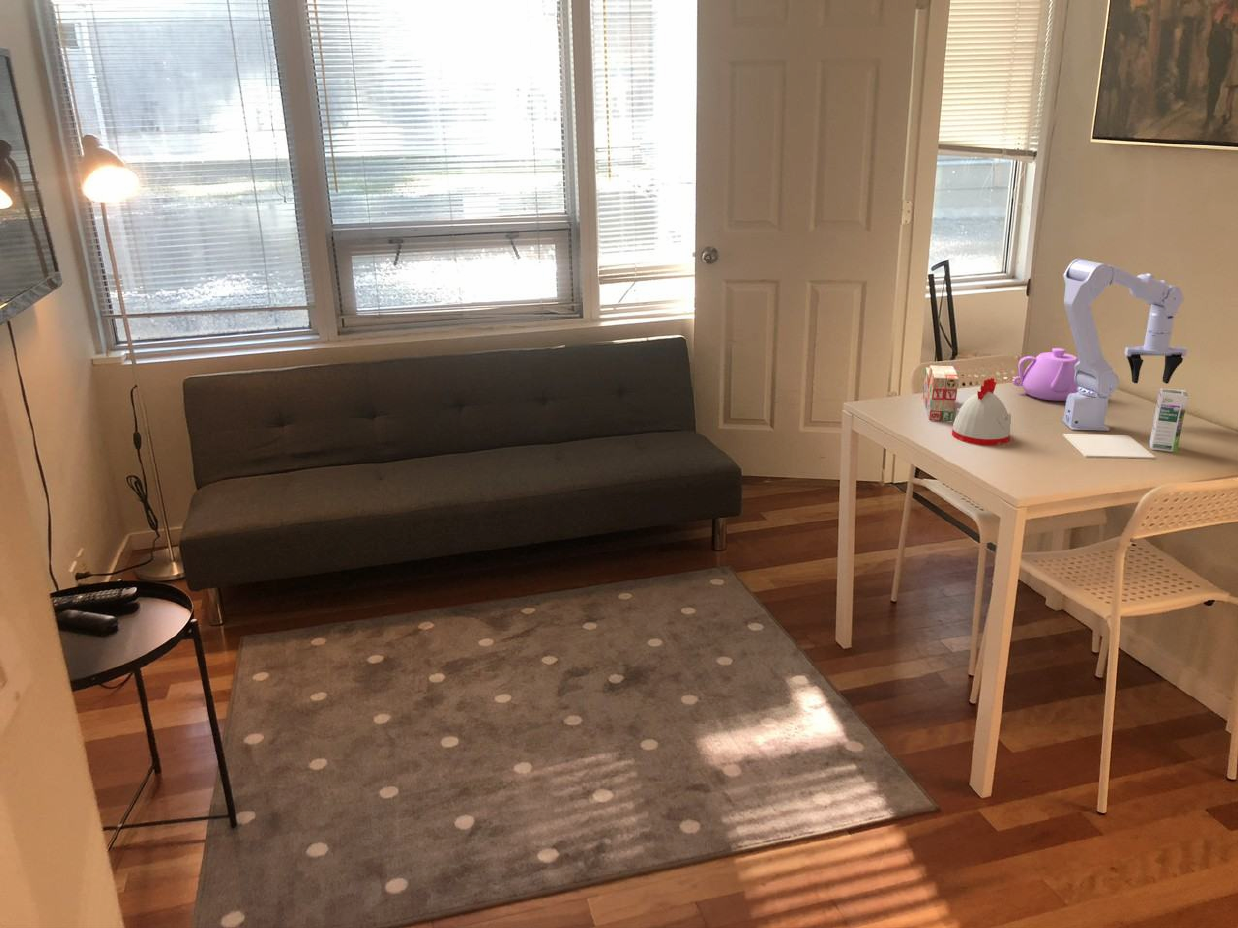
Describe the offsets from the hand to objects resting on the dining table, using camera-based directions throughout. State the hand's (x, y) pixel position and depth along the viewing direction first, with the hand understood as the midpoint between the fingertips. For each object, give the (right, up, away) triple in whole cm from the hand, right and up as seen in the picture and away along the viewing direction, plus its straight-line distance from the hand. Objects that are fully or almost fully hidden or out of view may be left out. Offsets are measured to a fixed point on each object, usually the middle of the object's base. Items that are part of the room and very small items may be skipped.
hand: (1150, 382), depth 255 cm
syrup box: (-6, -18, -16) cm, 25 cm away
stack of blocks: (-51, -7, +14) cm, 54 cm away
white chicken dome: (-47, -15, -7) cm, 50 cm away
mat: (-19, -17, -15) cm, 30 cm away
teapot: (-15, -3, +24) cm, 28 cm away
